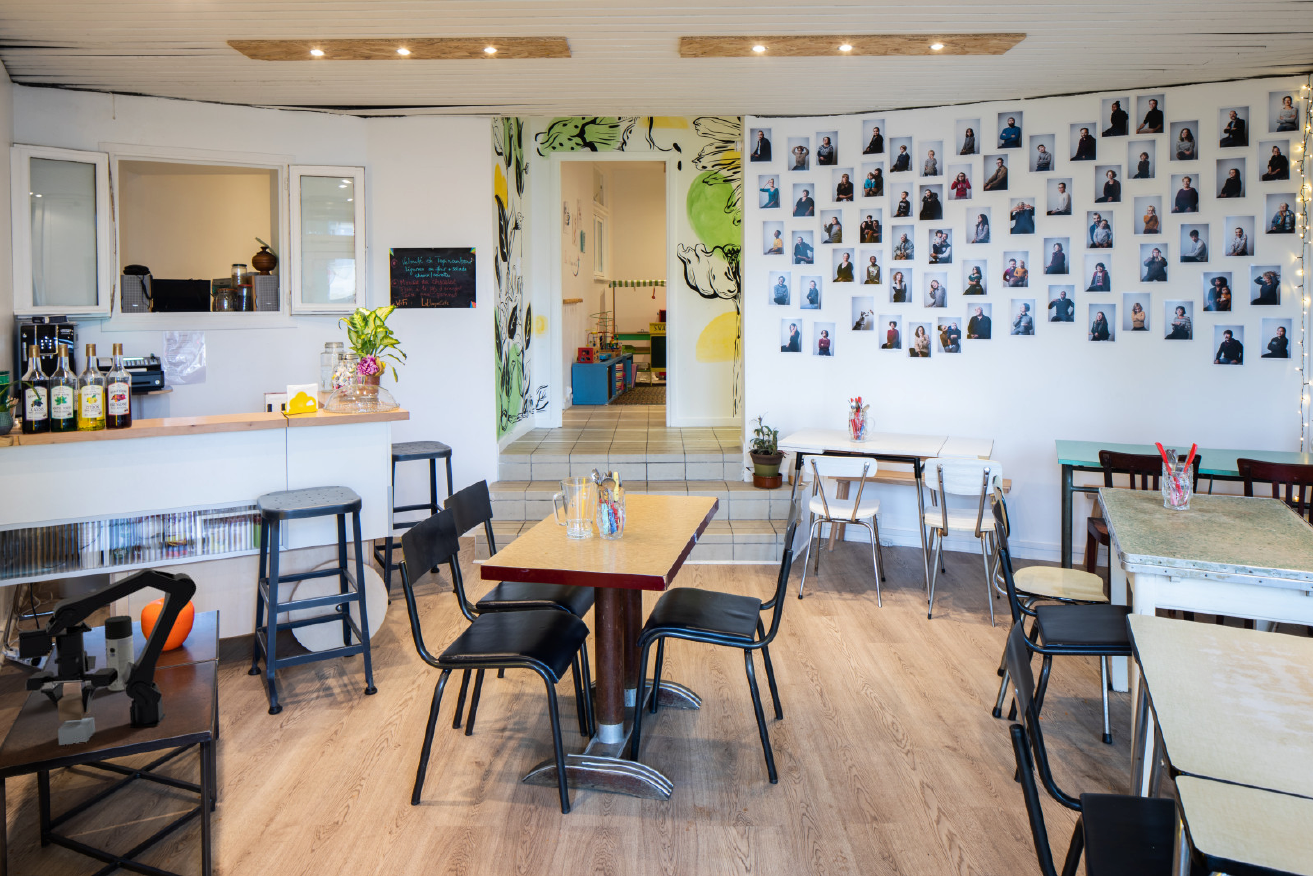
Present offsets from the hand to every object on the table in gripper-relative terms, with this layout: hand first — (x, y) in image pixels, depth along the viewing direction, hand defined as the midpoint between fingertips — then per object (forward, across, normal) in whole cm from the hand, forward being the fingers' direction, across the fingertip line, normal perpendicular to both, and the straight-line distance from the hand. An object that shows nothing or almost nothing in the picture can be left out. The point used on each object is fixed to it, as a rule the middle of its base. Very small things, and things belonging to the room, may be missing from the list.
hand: (74, 712), depth 223 cm
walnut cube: (+1, 0, 0) cm, 1 cm away
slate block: (+7, 0, 0) cm, 7 cm away
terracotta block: (+7, +13, -27) cm, 31 cm away
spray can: (+7, +2, -33) cm, 34 cm away
